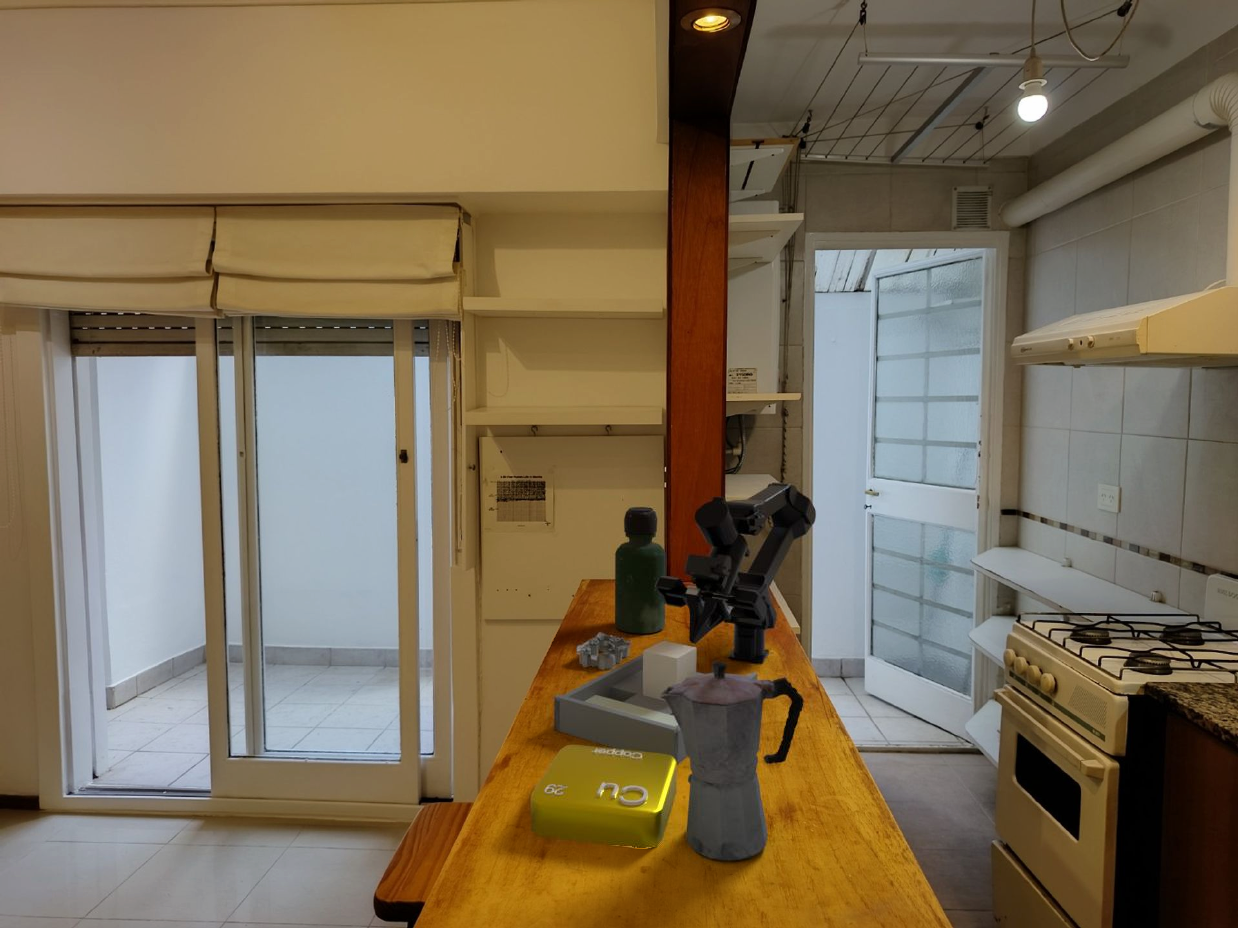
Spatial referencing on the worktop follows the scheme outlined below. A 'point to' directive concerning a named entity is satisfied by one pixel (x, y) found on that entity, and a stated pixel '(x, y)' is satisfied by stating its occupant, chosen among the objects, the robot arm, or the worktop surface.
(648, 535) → the green capped bottle
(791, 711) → the moka pot
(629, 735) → the gray open tray
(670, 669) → the cream block
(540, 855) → the worktop surface
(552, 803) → the element tile
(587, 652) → the egg carton
